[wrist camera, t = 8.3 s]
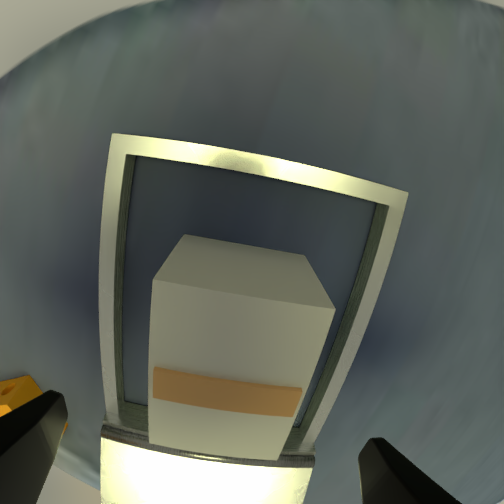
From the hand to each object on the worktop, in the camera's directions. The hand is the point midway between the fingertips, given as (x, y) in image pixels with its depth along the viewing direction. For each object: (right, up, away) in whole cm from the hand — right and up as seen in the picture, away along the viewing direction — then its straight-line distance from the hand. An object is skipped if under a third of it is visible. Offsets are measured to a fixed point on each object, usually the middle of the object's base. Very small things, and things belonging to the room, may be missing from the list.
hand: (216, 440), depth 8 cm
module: (0, +2, +7) cm, 7 cm away
